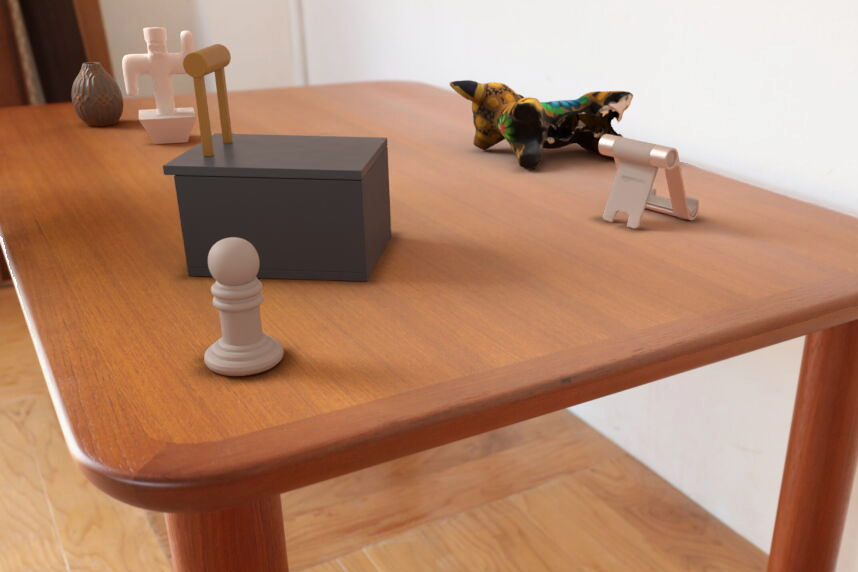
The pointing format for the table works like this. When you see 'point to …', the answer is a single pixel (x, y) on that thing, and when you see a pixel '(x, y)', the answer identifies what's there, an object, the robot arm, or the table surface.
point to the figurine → (161, 86)
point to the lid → (263, 140)
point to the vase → (96, 96)
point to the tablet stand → (644, 180)
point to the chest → (290, 222)
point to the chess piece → (239, 312)
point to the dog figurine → (540, 119)
